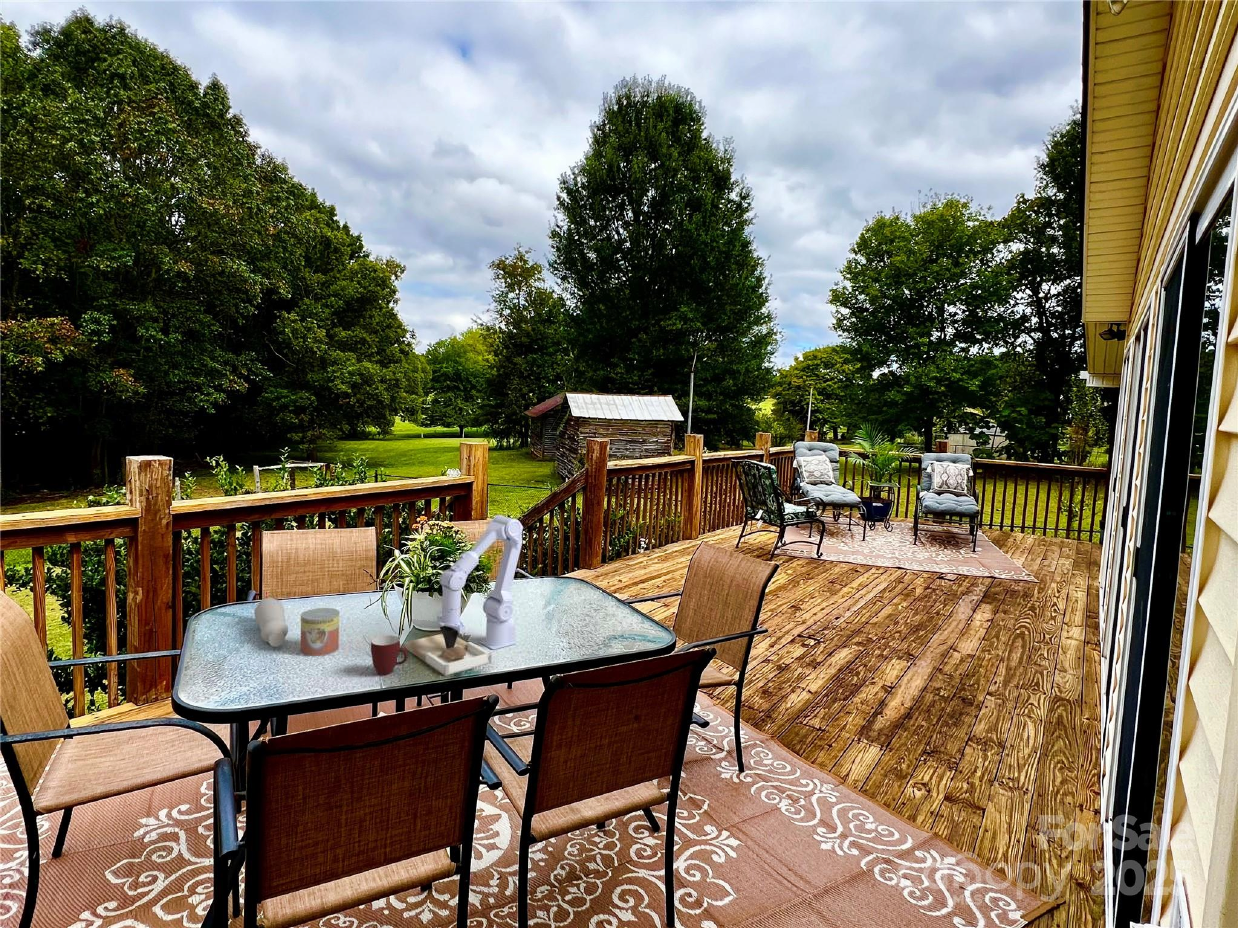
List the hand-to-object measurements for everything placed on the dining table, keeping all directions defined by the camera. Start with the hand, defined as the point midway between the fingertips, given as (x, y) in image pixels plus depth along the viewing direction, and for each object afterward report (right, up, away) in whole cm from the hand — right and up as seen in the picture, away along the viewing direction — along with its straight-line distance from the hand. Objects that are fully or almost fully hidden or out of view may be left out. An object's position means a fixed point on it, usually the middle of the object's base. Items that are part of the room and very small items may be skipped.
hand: (450, 648), depth 203 cm
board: (-6, -2, +6) cm, 9 cm away
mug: (-15, -4, -13) cm, 20 cm away
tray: (+4, -3, -4) cm, 6 cm away
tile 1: (+2, -1, -2) cm, 3 cm away
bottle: (-63, +1, +10) cm, 64 cm away
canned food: (-42, -1, 0) cm, 42 cm away
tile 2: (+1, -3, -1) cm, 3 cm away
